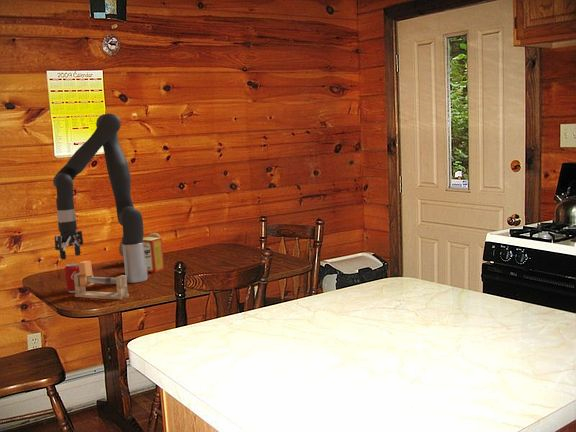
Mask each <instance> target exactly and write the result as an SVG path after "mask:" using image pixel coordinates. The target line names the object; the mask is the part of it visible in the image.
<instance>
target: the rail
mask: <svg viewBox="0 0 576 432" xmlns="http://www.w3.org/2000/svg"><path fill="white" fill-rule="evenodd" d="M79 275H80V274H77V275H74V283H75V292H76V293H74V297H75V298H87V299H88V298H89V299H105V300H119V301H121V299H122V300H123V298H124V299H127V298H128V297H130V294H129V292H128V282H127V281H126V275H124V274H121V275H118V276H116V277H111V276H109V277H103V276H93V277H87V283H94V284H105V285H116V292H115V291H114V292H105V291H91V290H90V291H88V290H87V289H86V288H87V287H80V278H79Z"/></svg>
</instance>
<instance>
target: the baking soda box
mask: <svg viewBox="0 0 576 432" xmlns="http://www.w3.org/2000/svg"><path fill="white" fill-rule="evenodd" d="M162 241H163V240H162V237H161V238H152V237H147V236H145V237H143V246H144V256H145V258H146V263H147V273H149V272H151V274H156V272H157V273H159V271H160V272H163V271H165V270H166V269H165V260H164V247H163V242H162ZM162 247H163V248H162ZM162 270H163V271H162Z"/></svg>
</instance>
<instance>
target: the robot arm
mask: <svg viewBox="0 0 576 432" xmlns="http://www.w3.org/2000/svg"><path fill="white" fill-rule="evenodd" d="M121 123H122V122H121V119H120V117H119V116H118V115H116V114H115V113H111V112H110V113H103V114H101V115H99V116H98V117H97V119H96V122H95V126H96V128H95V130H94V132H92V134H91V136H90V137H89V138H88V139H87V140H86V141H85V142H84V143H83V144H82V145H80V146H79V148H78V149H77V150H76V151H75V152H74V153H73V155H72V156H71V157H70V158H69V159H68V161H67V162H66V164H65V165H64V166H63V167H62V168H61V169H60V170H59V171H58V172H57V173H56V174H55V175H54V177H53V179H52V180H53V181H52V183H53V186H54V187H55V190H56V200H55V201H56V210H57V211H56V218H57V220H56V221H57V229H58V232H59V233H60V235H54V249H55V251H59V256H60V259H61V260H64V261H65V260H66V259H67V255H66V248H67V247H68V245H70V244H72V245H73V247H74V255H75V256H80V255H81V245H84V239H83V238H84V237H83V231H81V230H78V225H77V216H76V210H75V203H74V182H73V180H74V179H75V178H76V177H77V176H78V175H79V174H82V172H83V171H84V170H85V168H86V167H87V165H88V164H89V163H90V162H91V160H92V159H93V158H94V157H95V155H96V154H97V153H98V152H99V150H100V149H102V148H103V153H104V159H105V160H104V161H105V163H106V169H107V170H106V171H107V173H108V179H109V182H110V186H111V189H112V193H113V198H114V202H115V209H116V210H115V211H116V217H117V218H116V219H117V221H118V224H120V226H122V237H121V242H122V248H123V256H122V258H123V264H124V274H125V275H126V281H127V284H130V283H131V284H133V283H135V284H136V283H141V282H145V281H147V279H148V278H149V276H148V274H149V272H147V263H146V258H145V256H144V246H143V238H144V236H145V235H144V234H145V232H144V220H143V215H142V213H141V211H140V210H138V209H137V208H135V206H134V204H133V199H132V195H131V188H132V186H131V184H132V181H131V180H132V177H131V172H130V167H129V164H128V161H127V158H126V156H125V153H124V151H123V150H122V147H121V145H120V141H119V135H118V132H119V131H120V129H121V126H122V124H121Z"/></svg>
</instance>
